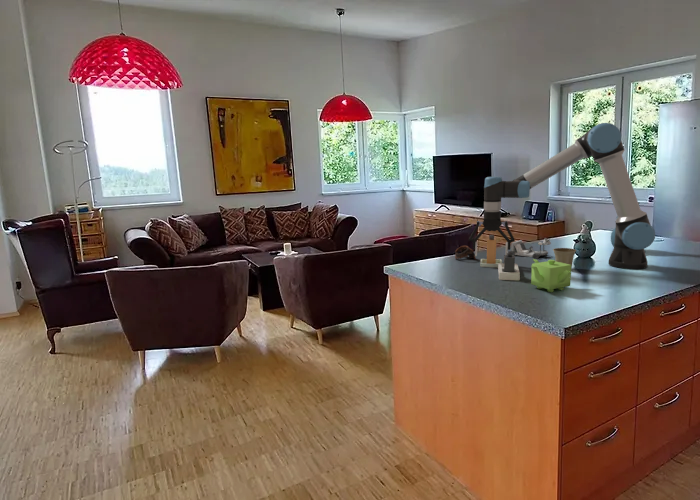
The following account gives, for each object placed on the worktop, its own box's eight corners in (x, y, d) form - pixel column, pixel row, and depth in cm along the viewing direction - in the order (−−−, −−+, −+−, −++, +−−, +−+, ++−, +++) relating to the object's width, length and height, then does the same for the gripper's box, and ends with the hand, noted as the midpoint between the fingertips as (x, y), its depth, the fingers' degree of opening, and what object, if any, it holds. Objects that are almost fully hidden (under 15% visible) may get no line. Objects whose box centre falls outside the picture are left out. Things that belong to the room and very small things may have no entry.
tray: (501, 263, 226) (501, 259, 225) (502, 268, 216) (502, 264, 215) (480, 262, 228) (480, 258, 228) (480, 267, 218) (480, 263, 218)
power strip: (516, 270, 212) (517, 246, 209) (519, 280, 195) (520, 254, 192) (498, 269, 214) (498, 245, 212) (499, 279, 197) (499, 253, 195)
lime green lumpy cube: (529, 292, 177) (530, 263, 175) (528, 283, 191) (529, 255, 188) (573, 295, 172) (575, 264, 170) (569, 285, 186) (571, 257, 183)
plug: (495, 263, 224) (496, 234, 221) (495, 265, 219) (496, 236, 216) (486, 263, 225) (487, 234, 222) (486, 265, 220) (487, 235, 218)
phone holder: (553, 237, 237) (544, 240, 229) (553, 256, 239) (543, 260, 231) (519, 234, 249) (509, 237, 241) (518, 252, 251) (508, 256, 243)
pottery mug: (478, 262, 231) (472, 249, 228) (461, 270, 234) (454, 257, 231) (474, 252, 242) (467, 239, 239) (457, 259, 244) (450, 247, 242)
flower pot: (548, 269, 212) (549, 250, 210) (556, 265, 218) (557, 247, 217) (570, 272, 205) (571, 252, 204) (578, 268, 212) (579, 249, 210)
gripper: (520, 209, 217) (518, 255, 221) (464, 209, 224) (463, 253, 228) (521, 211, 210) (519, 258, 214) (464, 211, 217) (463, 257, 221)
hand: (491, 256), depth 221 cm, fingers open, 13 cm apart
